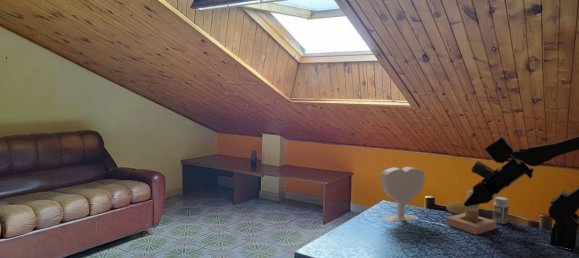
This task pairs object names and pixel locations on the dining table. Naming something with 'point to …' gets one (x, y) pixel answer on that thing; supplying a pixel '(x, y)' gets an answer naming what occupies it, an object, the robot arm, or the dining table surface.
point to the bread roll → (456, 207)
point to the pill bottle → (500, 210)
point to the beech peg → (471, 210)
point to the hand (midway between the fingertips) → (468, 202)
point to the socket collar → (471, 224)
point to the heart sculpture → (402, 188)
